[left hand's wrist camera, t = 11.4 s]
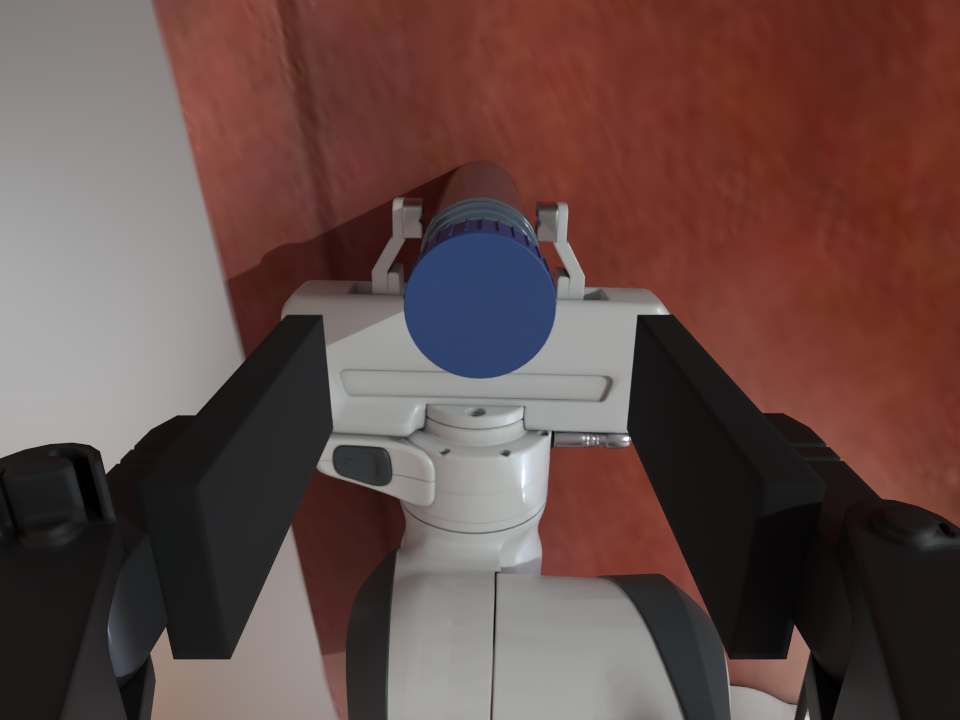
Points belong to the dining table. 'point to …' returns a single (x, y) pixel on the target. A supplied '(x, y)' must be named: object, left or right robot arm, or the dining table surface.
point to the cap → (479, 299)
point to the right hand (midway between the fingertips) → (480, 200)
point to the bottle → (479, 200)
